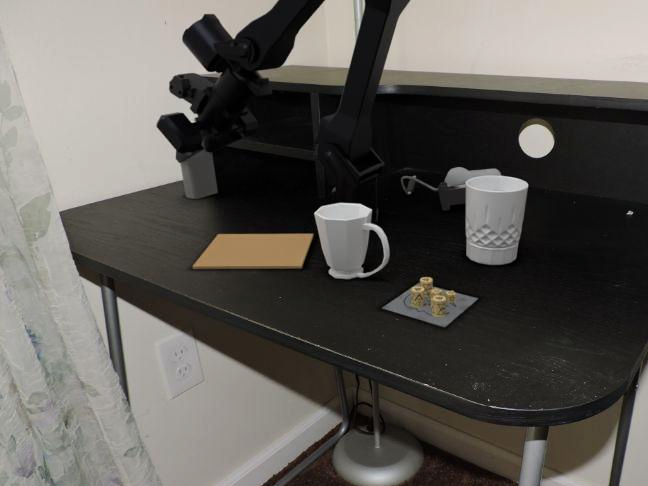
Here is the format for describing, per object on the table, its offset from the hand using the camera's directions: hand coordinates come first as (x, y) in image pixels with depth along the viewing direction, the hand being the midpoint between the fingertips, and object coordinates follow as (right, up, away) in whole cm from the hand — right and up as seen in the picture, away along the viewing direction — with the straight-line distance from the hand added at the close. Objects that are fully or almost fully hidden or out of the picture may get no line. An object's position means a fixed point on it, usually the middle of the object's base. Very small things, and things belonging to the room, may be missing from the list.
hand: (190, 157), depth 101 cm
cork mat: (+17, -19, -22) cm, 34 cm away
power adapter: (+1, -6, +3) cm, 7 cm away
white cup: (+50, -20, -24) cm, 58 cm away
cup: (+32, -22, -29) cm, 49 cm away
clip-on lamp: (+45, -8, -1) cm, 46 cm away
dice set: (+41, -26, -36) cm, 60 cm away
